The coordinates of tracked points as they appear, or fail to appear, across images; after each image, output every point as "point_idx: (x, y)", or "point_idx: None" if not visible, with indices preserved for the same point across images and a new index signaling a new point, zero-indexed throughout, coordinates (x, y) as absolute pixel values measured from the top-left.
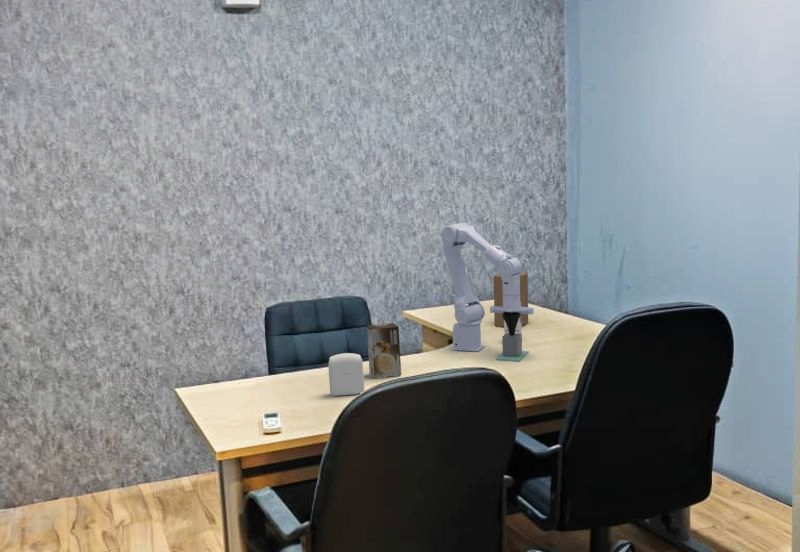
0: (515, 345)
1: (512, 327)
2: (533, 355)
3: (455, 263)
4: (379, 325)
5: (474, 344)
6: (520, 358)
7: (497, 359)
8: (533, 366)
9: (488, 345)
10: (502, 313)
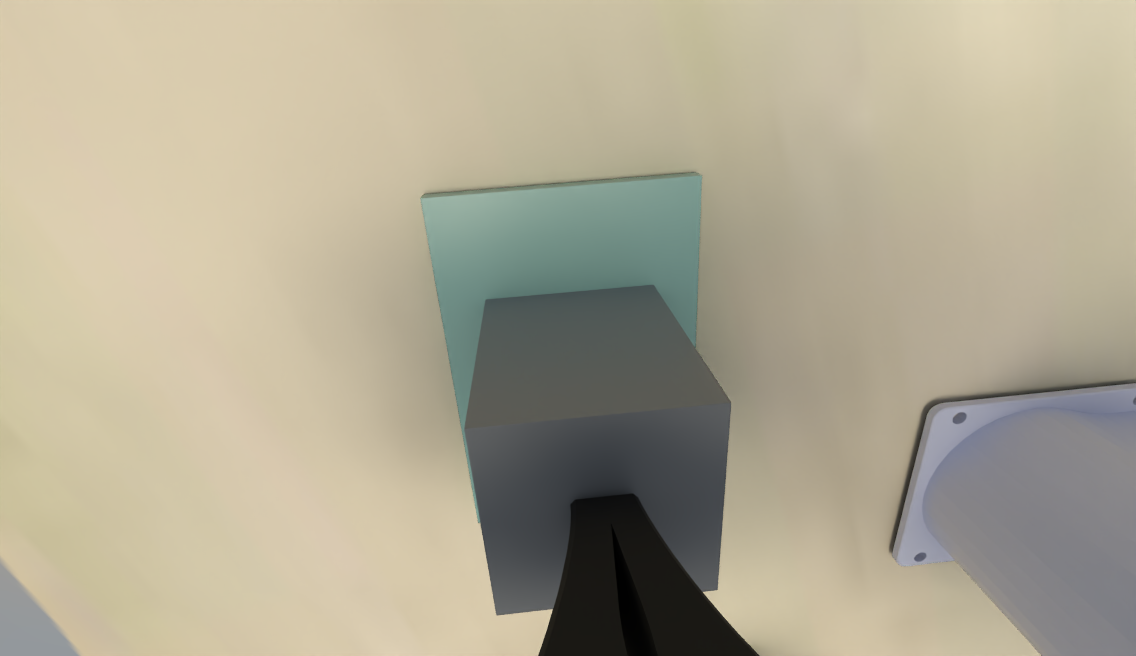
0: (506, 357)
1: (589, 597)
2: (401, 454)
3: None
4: None
5: (1009, 461)
6: (435, 259)
7: (681, 174)
8: (157, 28)
9: (863, 589)
10: None
